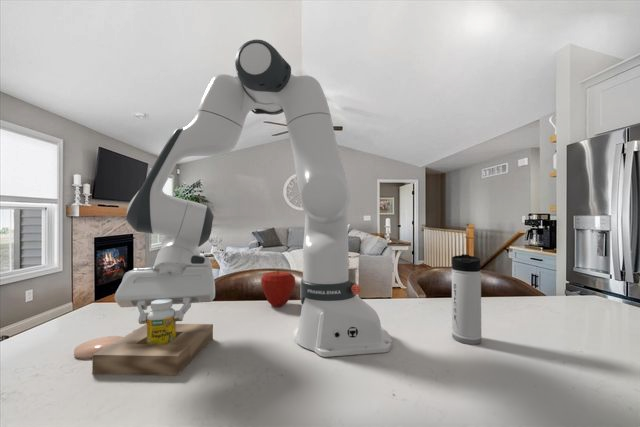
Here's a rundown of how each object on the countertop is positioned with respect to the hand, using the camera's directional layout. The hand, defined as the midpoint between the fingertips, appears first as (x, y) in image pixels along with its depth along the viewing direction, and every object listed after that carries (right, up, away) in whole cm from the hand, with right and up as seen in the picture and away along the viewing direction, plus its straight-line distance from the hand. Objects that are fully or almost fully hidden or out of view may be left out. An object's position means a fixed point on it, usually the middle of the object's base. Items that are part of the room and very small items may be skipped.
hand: (160, 321), depth 60 cm
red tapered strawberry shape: (+20, -8, +35) cm, 41 cm away
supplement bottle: (0, -6, +1) cm, 6 cm away
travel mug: (+69, -8, +9) cm, 70 cm away
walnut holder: (0, -7, 0) cm, 7 cm away
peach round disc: (-15, -7, +3) cm, 17 cm away
